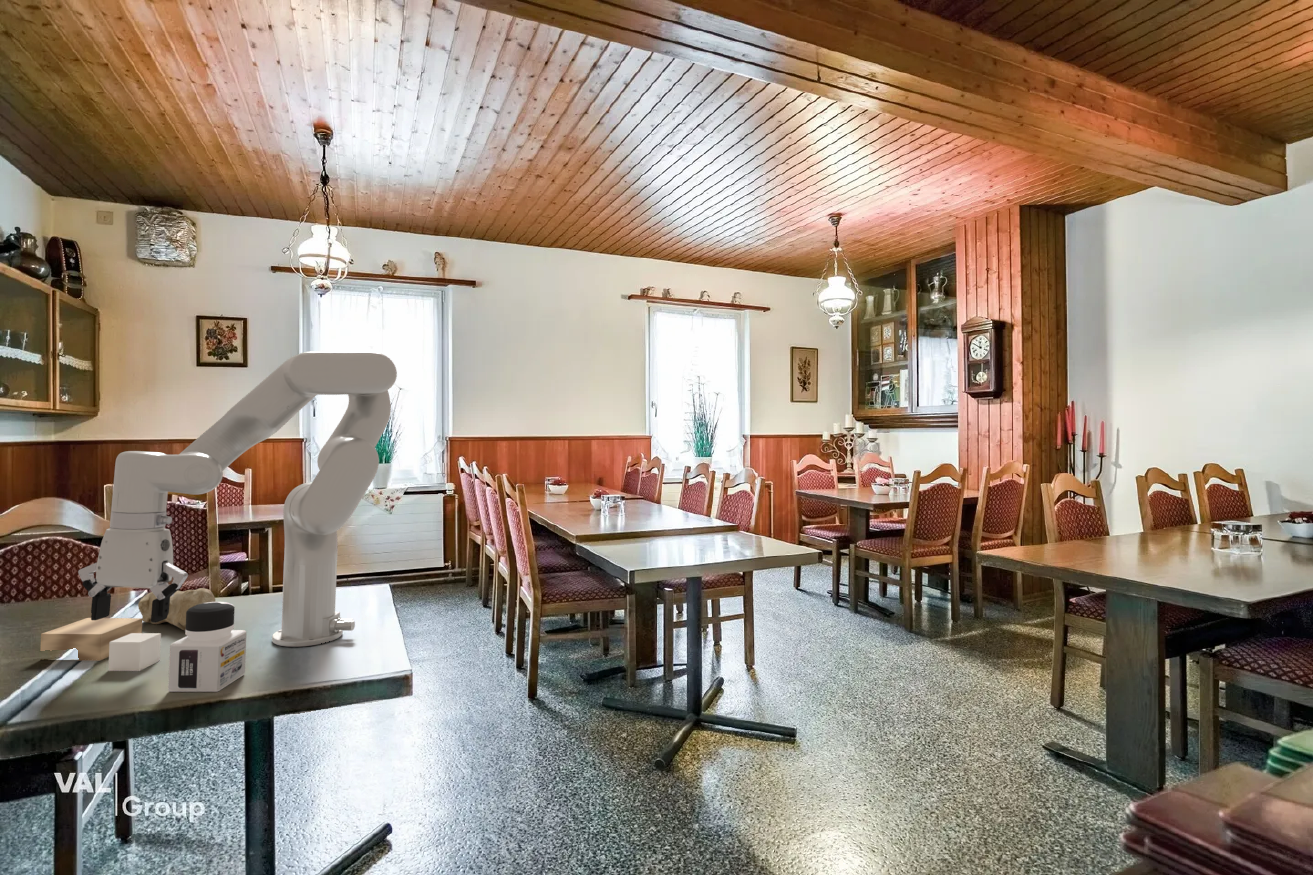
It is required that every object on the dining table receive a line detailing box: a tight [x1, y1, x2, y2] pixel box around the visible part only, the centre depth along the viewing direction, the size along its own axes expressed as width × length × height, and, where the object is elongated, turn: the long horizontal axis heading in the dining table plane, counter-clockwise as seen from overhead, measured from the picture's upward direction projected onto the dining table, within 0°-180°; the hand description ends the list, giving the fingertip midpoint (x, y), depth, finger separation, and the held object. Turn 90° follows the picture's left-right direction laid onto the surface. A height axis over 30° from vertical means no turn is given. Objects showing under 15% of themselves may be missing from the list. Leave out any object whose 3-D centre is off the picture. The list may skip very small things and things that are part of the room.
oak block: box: [39, 617, 143, 662], centre depth 117 cm, size 10×10×5 cm
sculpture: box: [137, 587, 216, 631], centre depth 134 cm, size 9×17×10 cm
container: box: [167, 601, 248, 693], centre depth 104 cm, size 8×8×13 cm
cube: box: [107, 632, 162, 672], centre depth 110 cm, size 5×5×5 cm
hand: (129, 619), depth 110 cm, fingers open, 9 cm apart
